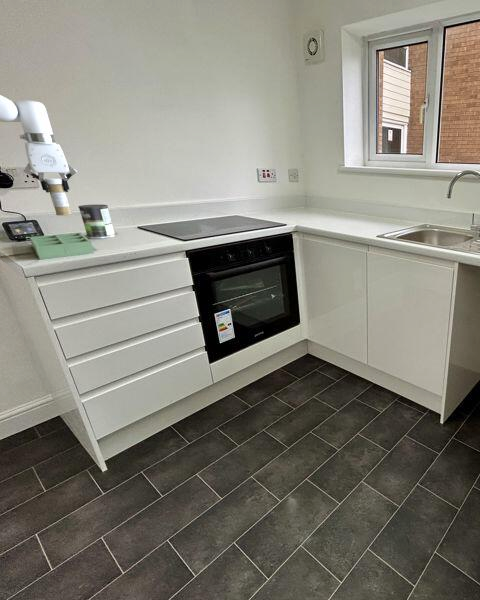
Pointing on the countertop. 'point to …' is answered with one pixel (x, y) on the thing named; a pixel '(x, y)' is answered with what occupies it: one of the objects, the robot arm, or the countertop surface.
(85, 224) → the coffee can
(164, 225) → the countertop surface
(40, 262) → the countertop surface
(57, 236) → the grid tray
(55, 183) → the sprinkles bottle
